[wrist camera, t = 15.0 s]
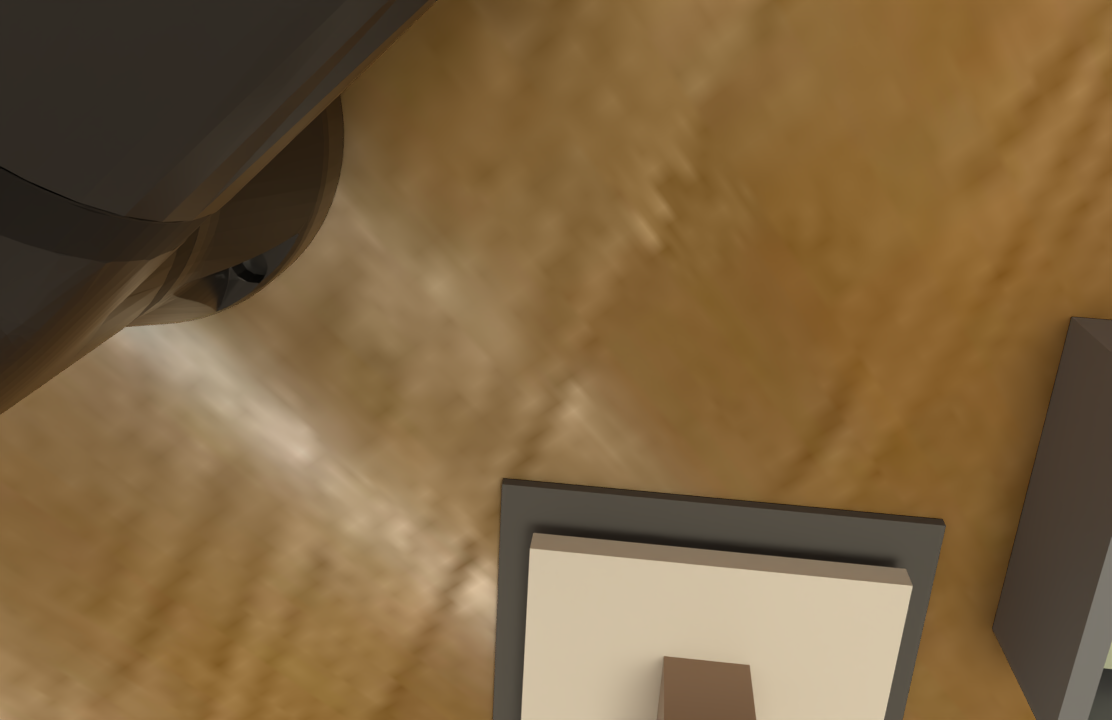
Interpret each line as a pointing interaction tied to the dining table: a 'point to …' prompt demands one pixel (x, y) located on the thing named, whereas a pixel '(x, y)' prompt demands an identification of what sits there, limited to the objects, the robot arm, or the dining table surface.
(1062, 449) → the box
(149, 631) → the dining table surface
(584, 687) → the lid
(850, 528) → the mat
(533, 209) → the dining table surface
